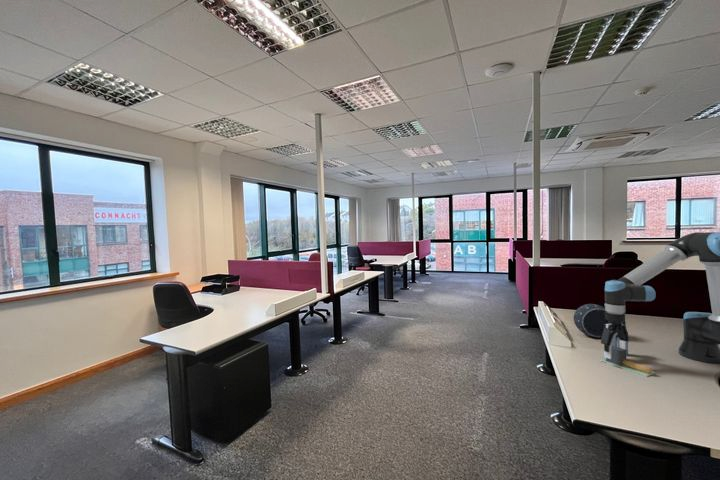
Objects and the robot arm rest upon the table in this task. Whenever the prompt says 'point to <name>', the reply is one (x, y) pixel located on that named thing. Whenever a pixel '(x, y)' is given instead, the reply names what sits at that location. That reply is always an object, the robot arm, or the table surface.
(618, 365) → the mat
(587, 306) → the dark grey short cylinder
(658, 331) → the table surface
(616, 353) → the grey hammer
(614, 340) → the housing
